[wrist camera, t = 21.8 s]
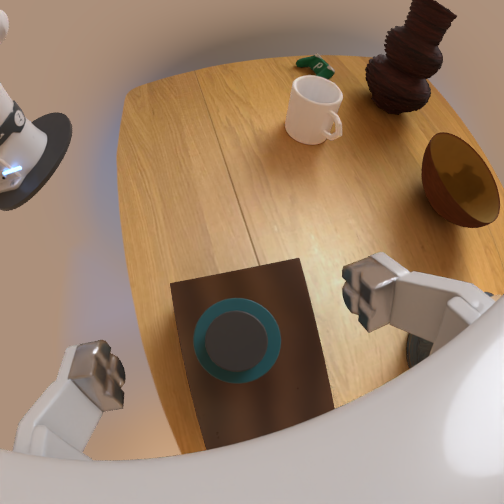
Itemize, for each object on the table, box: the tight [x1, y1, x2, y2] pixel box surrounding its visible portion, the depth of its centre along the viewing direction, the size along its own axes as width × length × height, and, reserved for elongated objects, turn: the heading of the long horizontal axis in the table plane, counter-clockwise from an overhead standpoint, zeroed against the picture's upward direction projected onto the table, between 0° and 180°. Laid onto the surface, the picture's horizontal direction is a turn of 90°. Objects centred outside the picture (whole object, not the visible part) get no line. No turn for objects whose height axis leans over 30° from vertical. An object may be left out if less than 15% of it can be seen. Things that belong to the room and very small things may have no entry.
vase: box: [365, 0, 457, 115], centre depth 35 cm, size 15×15×30 cm
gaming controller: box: [296, 54, 334, 80], centre depth 50 cm, size 9×4×6 cm
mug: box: [285, 75, 343, 145], centre depth 40 cm, size 8×12×10 cm, turn 23°
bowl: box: [422, 132, 500, 228], centre depth 37 cm, size 18×18×10 cm
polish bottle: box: [193, 298, 281, 383], centre depth 20 cm, size 5×5×14 cm
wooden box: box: [170, 258, 335, 450], centre depth 29 cm, size 14×20×8 cm
